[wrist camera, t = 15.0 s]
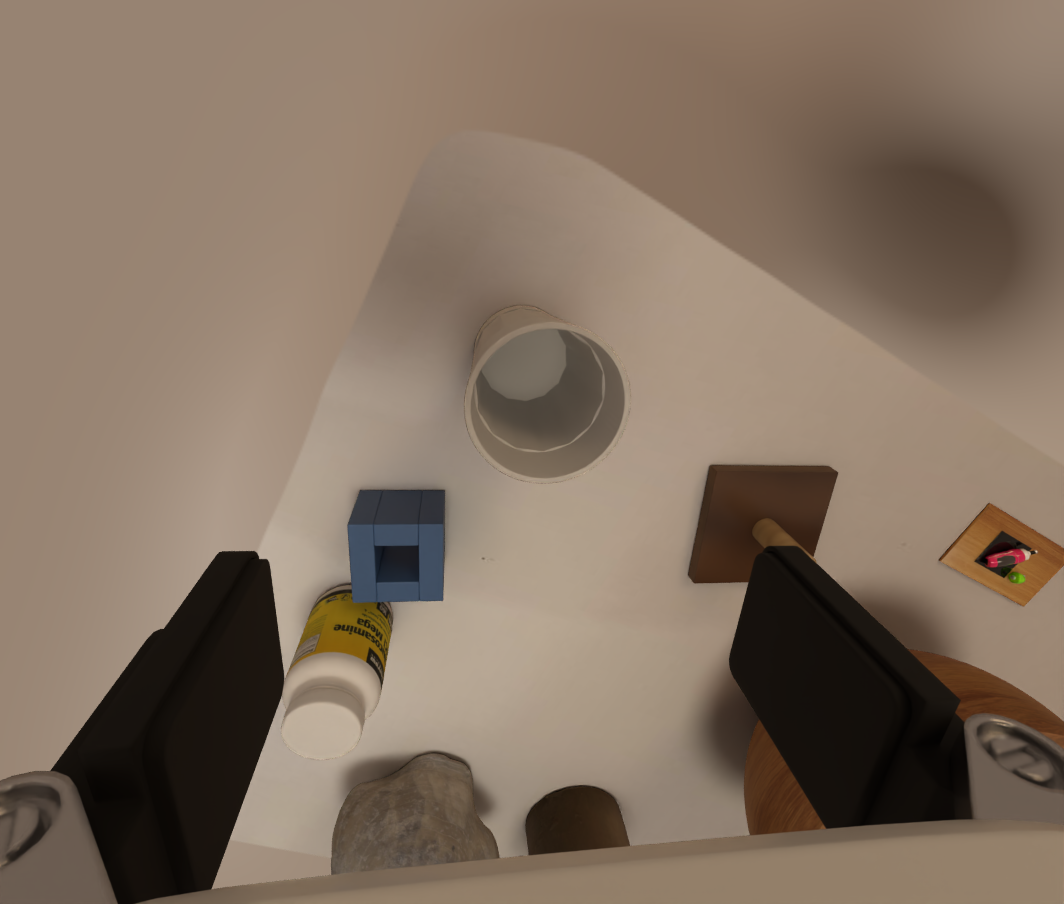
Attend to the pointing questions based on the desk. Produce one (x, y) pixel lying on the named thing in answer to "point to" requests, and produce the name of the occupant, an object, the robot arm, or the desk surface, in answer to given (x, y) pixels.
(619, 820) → the pillar candle
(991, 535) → the board
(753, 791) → the bowl
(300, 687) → the pill bottle
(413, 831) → the decorative stone
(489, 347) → the cup
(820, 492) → the dowel stand
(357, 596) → the collar block
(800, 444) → the desk surface
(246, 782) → the robot arm
